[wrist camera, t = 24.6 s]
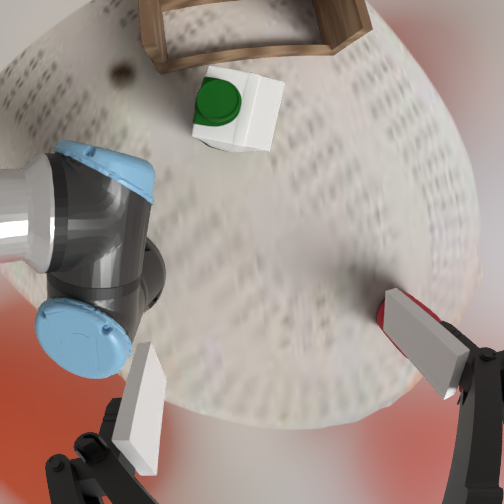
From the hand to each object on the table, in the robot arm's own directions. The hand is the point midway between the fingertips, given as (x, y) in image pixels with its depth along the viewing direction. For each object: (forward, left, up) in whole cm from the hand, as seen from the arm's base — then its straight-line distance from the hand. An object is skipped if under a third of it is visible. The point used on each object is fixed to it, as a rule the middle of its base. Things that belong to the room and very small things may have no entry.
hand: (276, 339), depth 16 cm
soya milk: (+2, +14, -35) cm, 38 cm away
